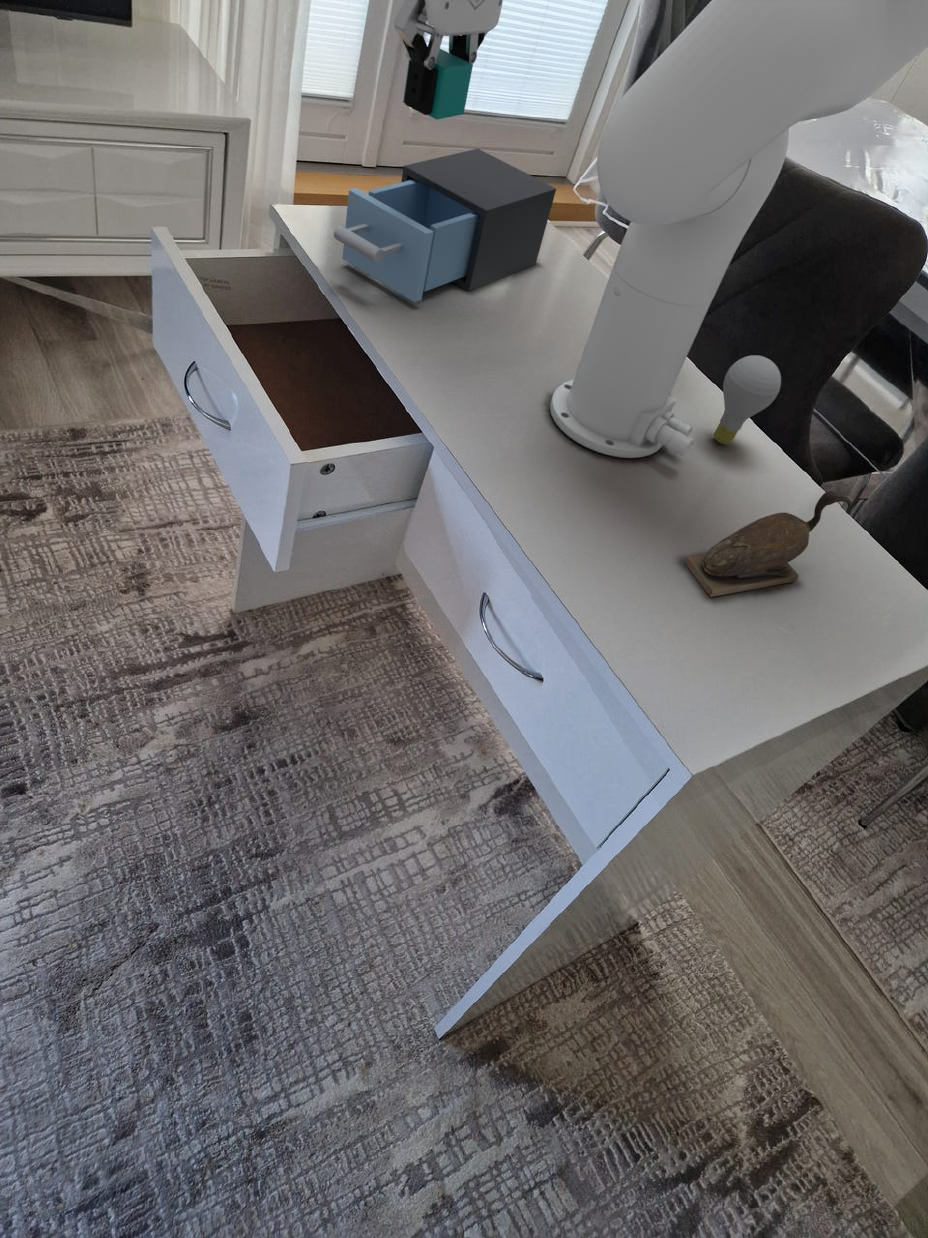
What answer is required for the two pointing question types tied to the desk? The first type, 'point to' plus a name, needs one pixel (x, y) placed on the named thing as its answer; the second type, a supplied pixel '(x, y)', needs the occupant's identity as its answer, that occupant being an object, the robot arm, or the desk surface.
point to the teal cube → (450, 85)
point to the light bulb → (746, 393)
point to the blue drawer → (408, 236)
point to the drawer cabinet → (491, 210)
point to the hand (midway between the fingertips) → (434, 104)
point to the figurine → (758, 552)
